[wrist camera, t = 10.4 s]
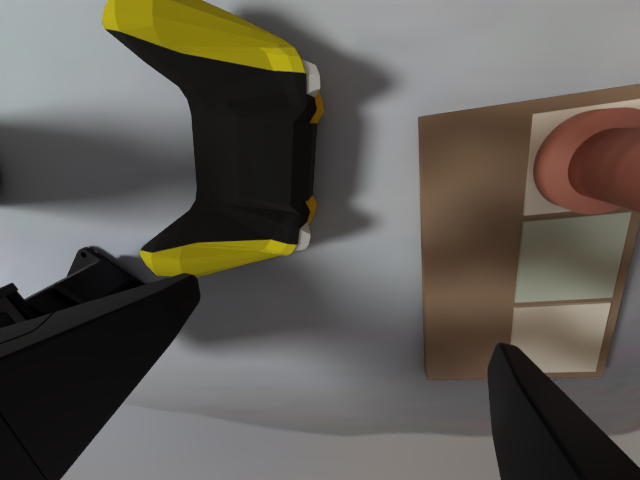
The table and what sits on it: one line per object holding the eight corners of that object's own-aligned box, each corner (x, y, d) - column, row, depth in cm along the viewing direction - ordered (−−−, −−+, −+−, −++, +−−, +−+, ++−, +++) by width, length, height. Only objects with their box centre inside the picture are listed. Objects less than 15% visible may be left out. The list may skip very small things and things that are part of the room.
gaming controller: (184, 249, 23) (314, 265, 22) (134, 286, 18) (302, 307, 17) (160, 11, 17) (333, 20, 16) (77, -38, 12) (322, -28, 11)
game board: (592, 366, 22) (604, 379, 21) (424, 370, 24) (427, 382, 23) (655, 81, 16) (678, 78, 14) (418, 116, 17) (422, 116, 16)
